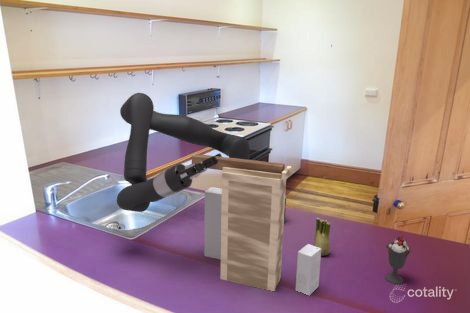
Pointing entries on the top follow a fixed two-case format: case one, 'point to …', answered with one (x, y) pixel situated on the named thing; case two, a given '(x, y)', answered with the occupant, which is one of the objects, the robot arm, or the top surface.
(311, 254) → the skincare box
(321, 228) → the fennel bulb
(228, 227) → the birch shelf
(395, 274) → the sundae
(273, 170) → the walnut bar
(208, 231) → the grey pedestal
